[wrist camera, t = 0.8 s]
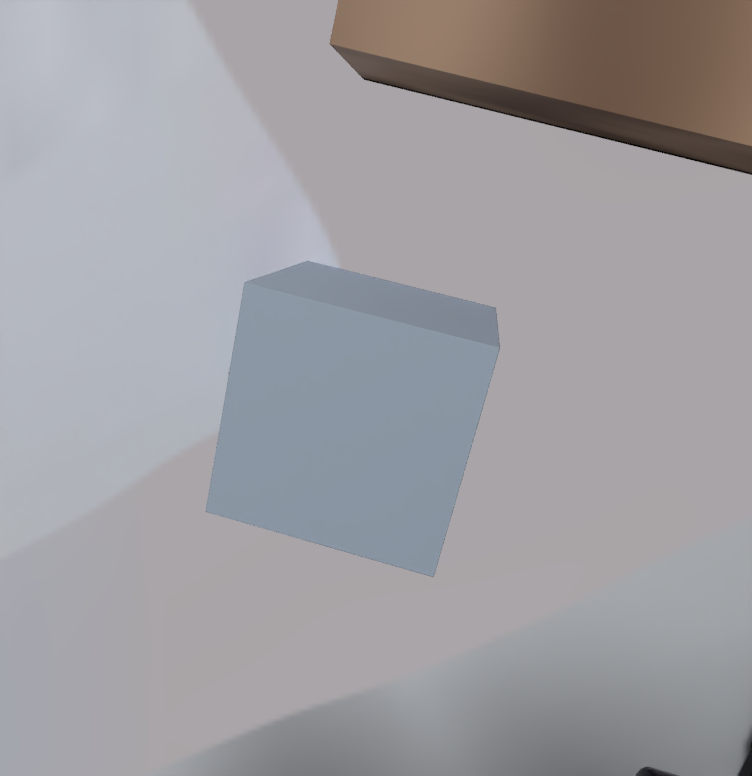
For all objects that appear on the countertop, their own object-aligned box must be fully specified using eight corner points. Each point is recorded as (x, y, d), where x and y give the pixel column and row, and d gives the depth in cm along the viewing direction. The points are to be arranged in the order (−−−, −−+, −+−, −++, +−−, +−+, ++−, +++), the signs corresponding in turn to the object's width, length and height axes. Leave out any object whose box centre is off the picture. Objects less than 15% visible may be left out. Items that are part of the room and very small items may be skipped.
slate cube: (495, 307, 17) (500, 347, 13) (446, 482, 19) (433, 577, 14) (308, 260, 18) (244, 282, 13) (274, 434, 19) (205, 511, 15)
